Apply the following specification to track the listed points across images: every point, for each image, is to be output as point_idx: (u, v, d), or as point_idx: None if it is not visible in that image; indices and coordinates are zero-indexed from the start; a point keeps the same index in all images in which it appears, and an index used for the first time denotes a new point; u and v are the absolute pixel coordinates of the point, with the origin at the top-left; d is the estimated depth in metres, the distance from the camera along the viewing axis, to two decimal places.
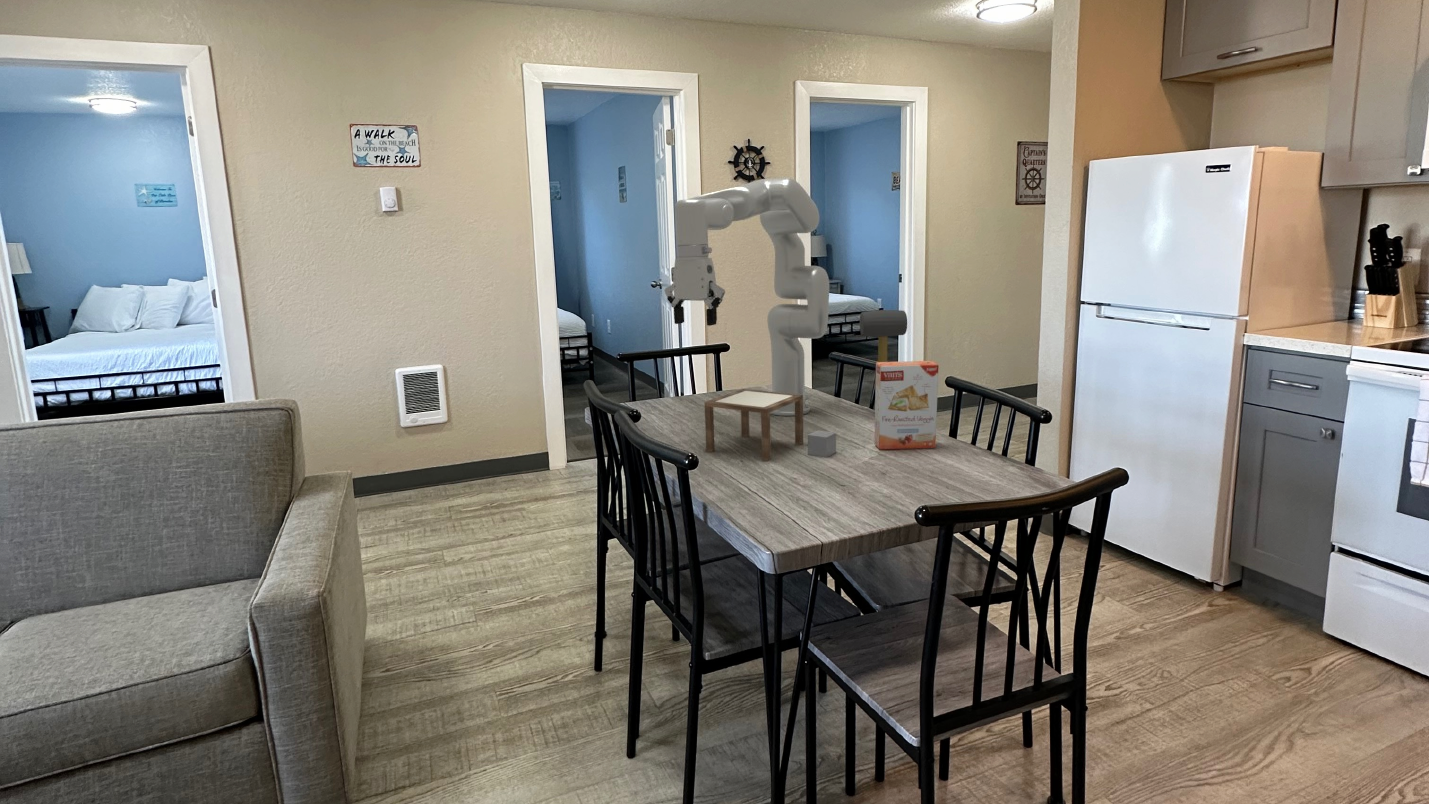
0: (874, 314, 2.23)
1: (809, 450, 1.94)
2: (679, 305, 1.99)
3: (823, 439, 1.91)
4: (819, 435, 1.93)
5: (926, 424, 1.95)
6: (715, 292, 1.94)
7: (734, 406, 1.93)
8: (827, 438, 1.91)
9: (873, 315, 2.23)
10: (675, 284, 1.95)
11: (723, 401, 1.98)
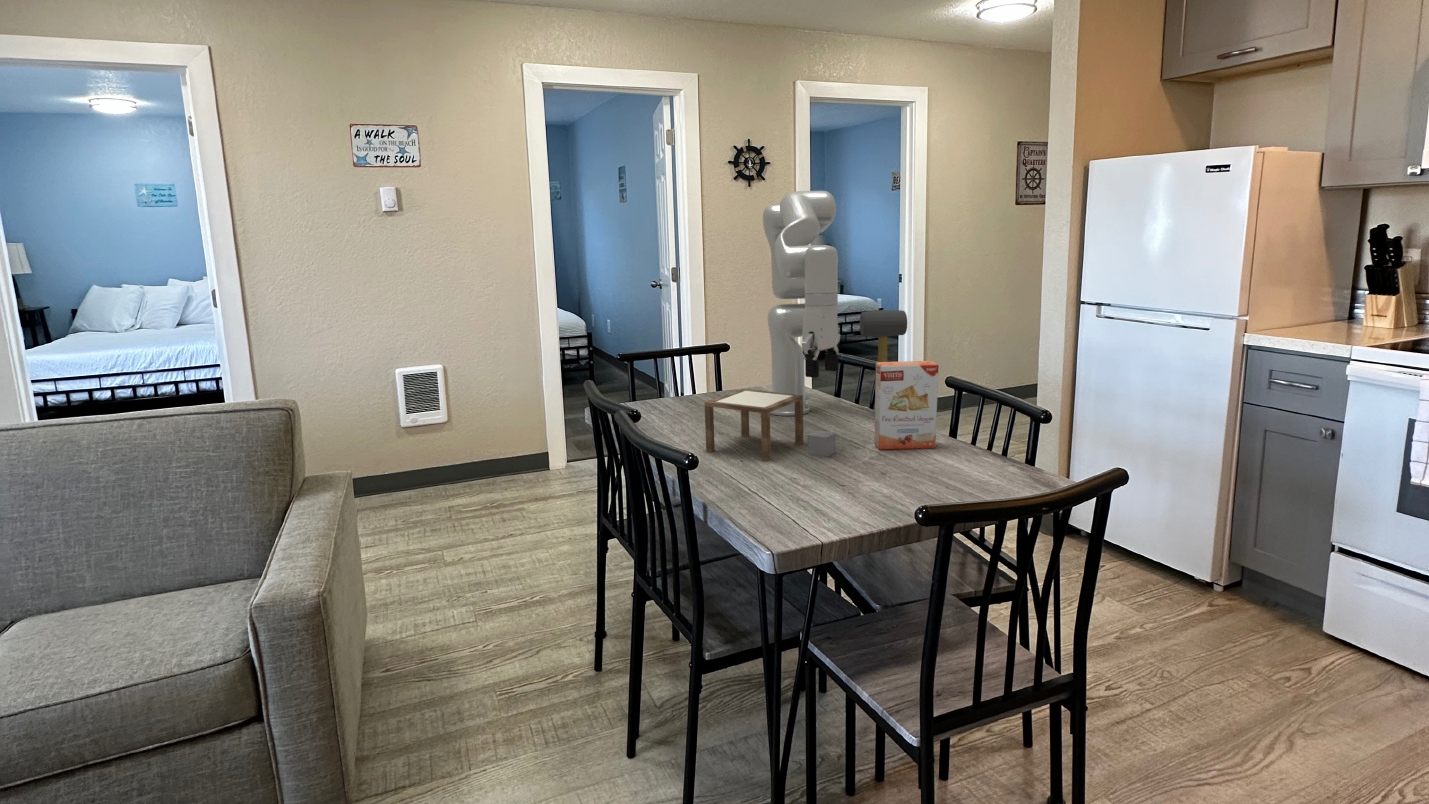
0: (874, 314, 2.23)
1: (809, 450, 1.94)
2: None
3: (823, 439, 1.91)
4: (819, 435, 1.93)
5: (926, 424, 1.95)
6: None
7: (734, 406, 1.93)
8: (826, 438, 1.91)
9: (873, 315, 2.23)
10: (822, 335, 1.84)
11: (723, 401, 1.98)
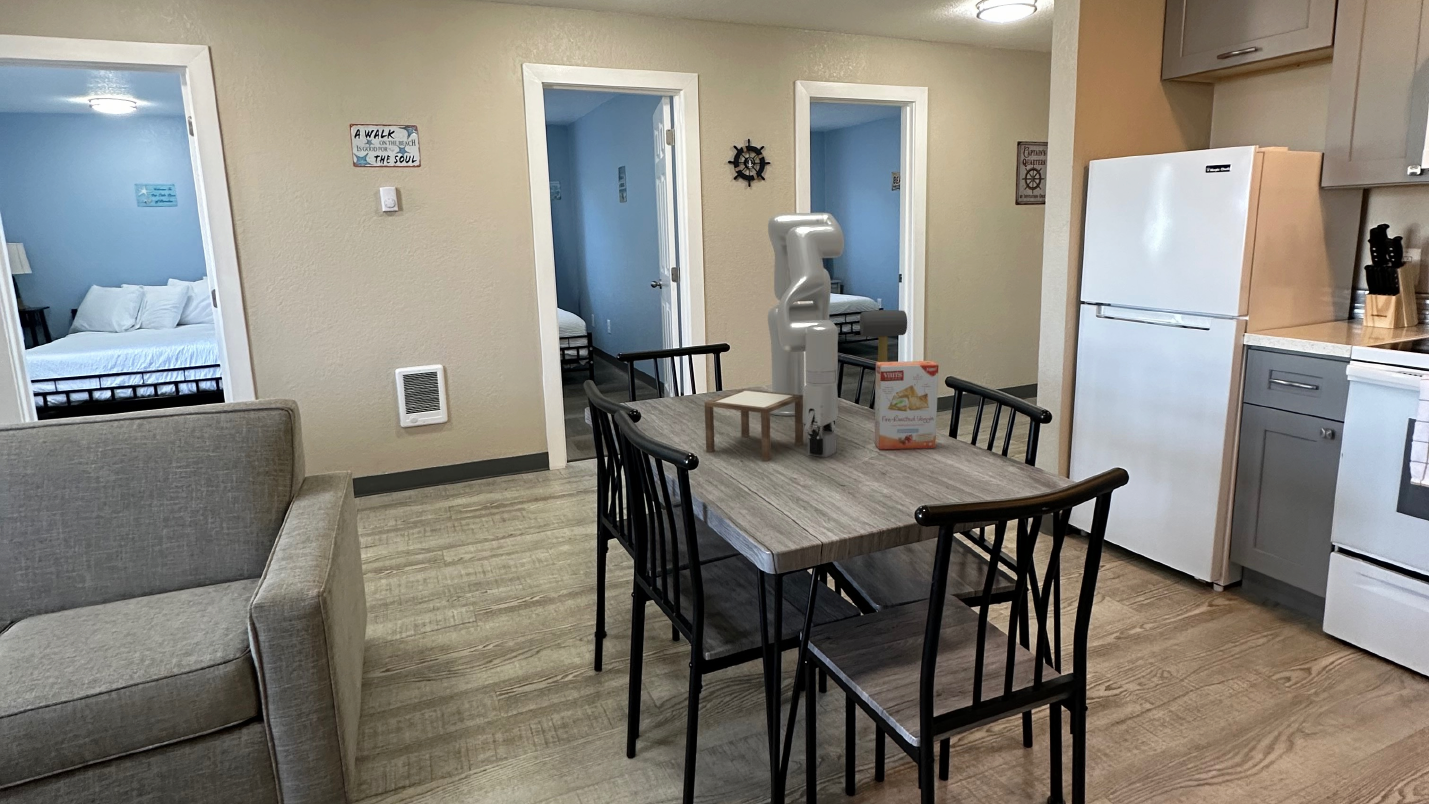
0: (874, 314, 2.23)
1: (809, 450, 1.94)
2: None
3: (823, 439, 1.91)
4: None
5: (926, 424, 1.95)
6: None
7: (734, 406, 1.93)
8: (826, 437, 1.91)
9: (873, 315, 2.23)
10: (822, 412, 1.89)
11: (723, 401, 1.98)
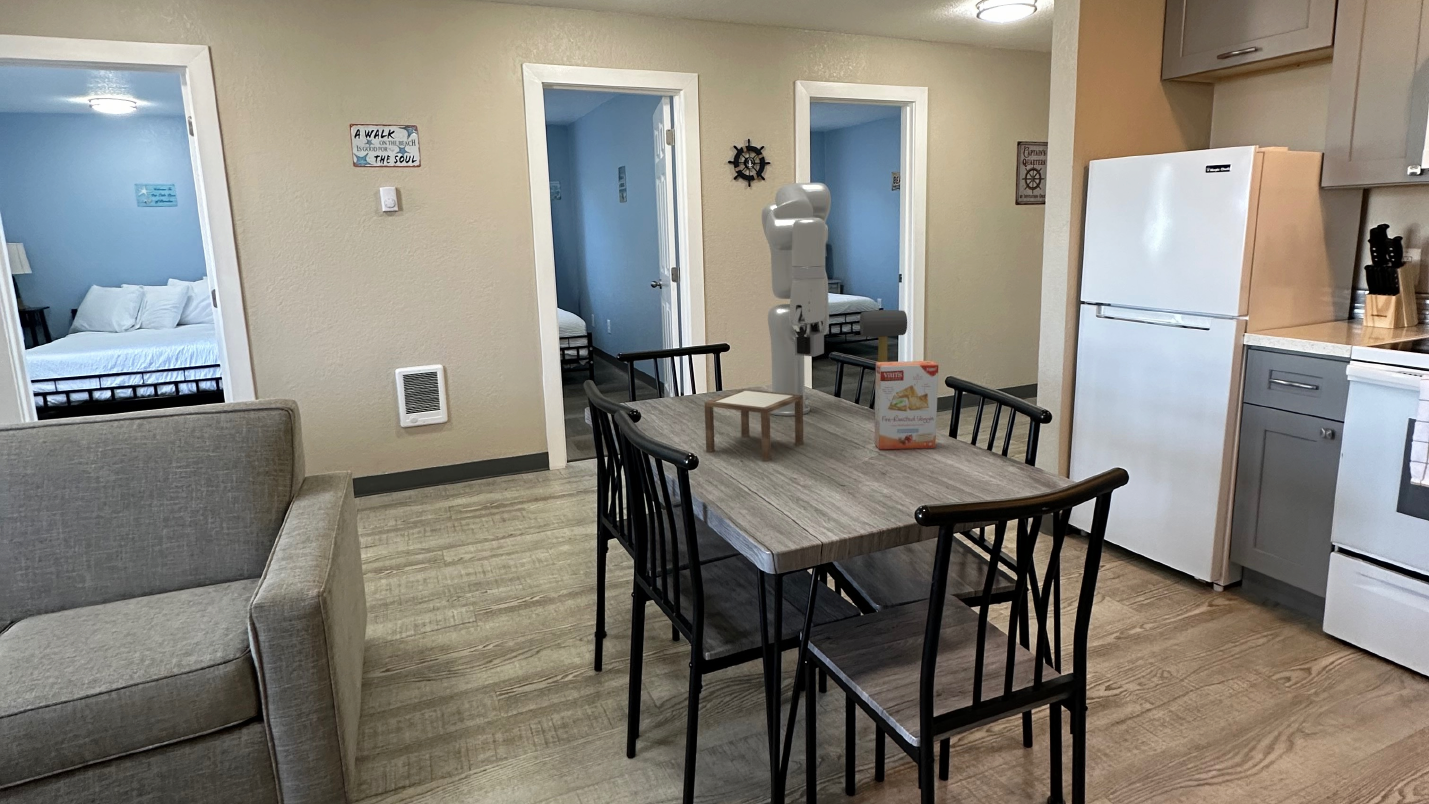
0: (874, 314, 2.23)
1: (796, 350, 1.90)
2: None
3: (810, 337, 1.87)
4: None
5: (926, 424, 1.95)
6: None
7: (734, 406, 1.93)
8: (814, 336, 1.87)
9: (873, 315, 2.23)
10: (809, 308, 1.84)
11: (723, 401, 1.98)
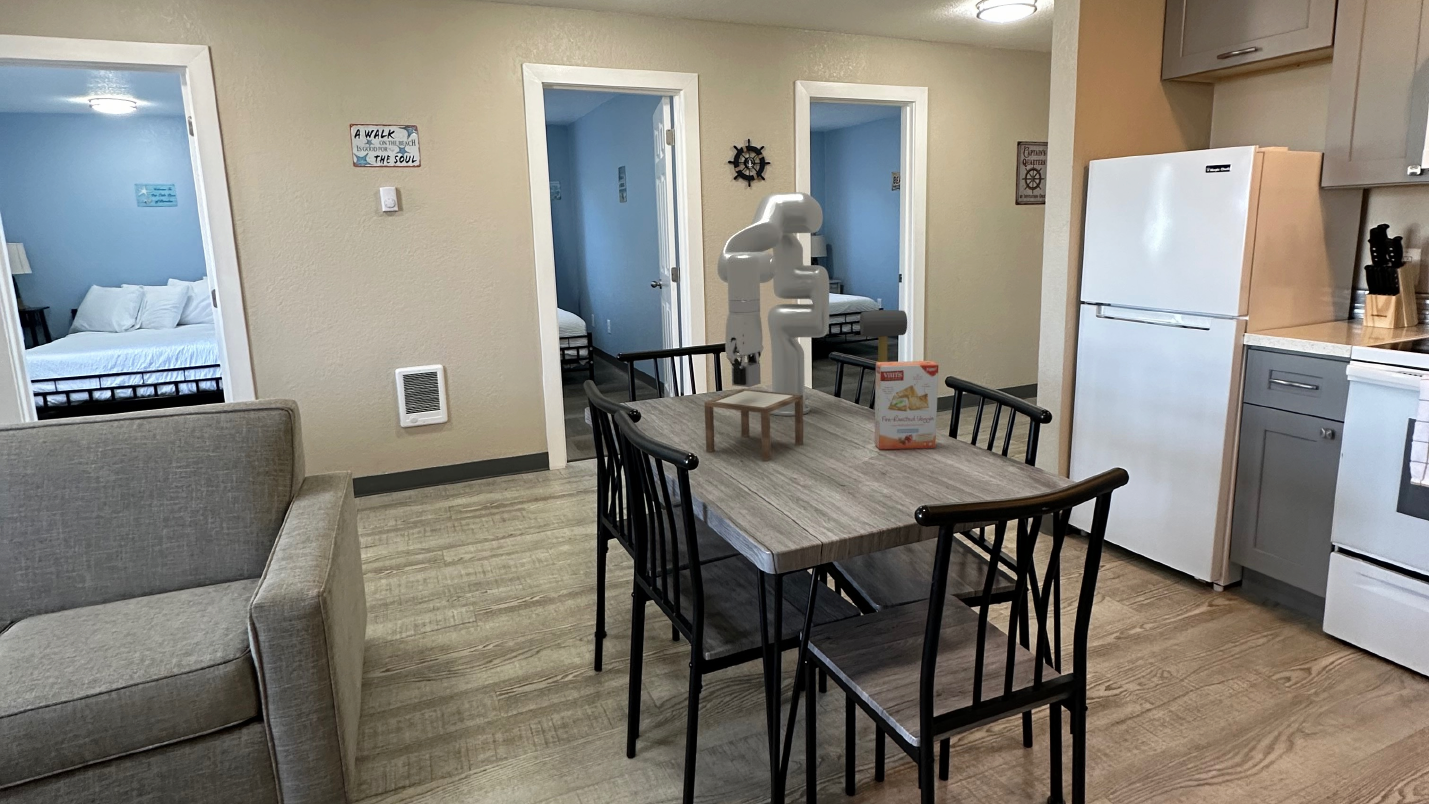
0: (874, 314, 2.23)
1: None
2: None
3: (746, 368, 1.92)
4: None
5: (926, 424, 1.95)
6: None
7: (734, 406, 1.93)
8: (749, 367, 1.92)
9: (873, 315, 2.23)
10: (743, 340, 1.89)
11: (723, 401, 1.98)
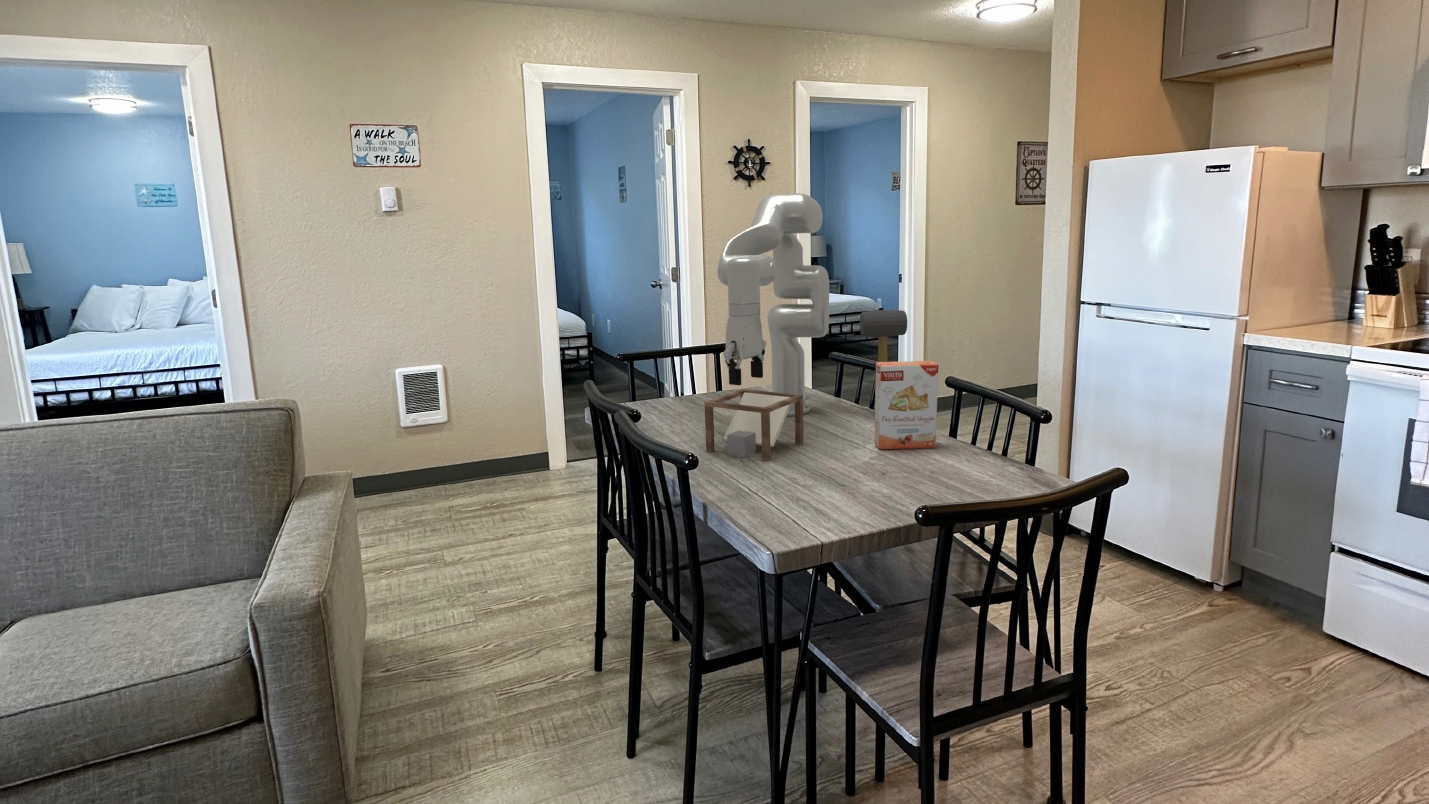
0: (874, 314, 2.23)
1: None
2: None
3: None
4: (736, 453, 1.95)
5: (926, 424, 1.95)
6: None
7: (734, 406, 1.93)
8: (745, 456, 1.94)
9: (873, 315, 2.23)
10: (744, 344, 1.90)
11: None
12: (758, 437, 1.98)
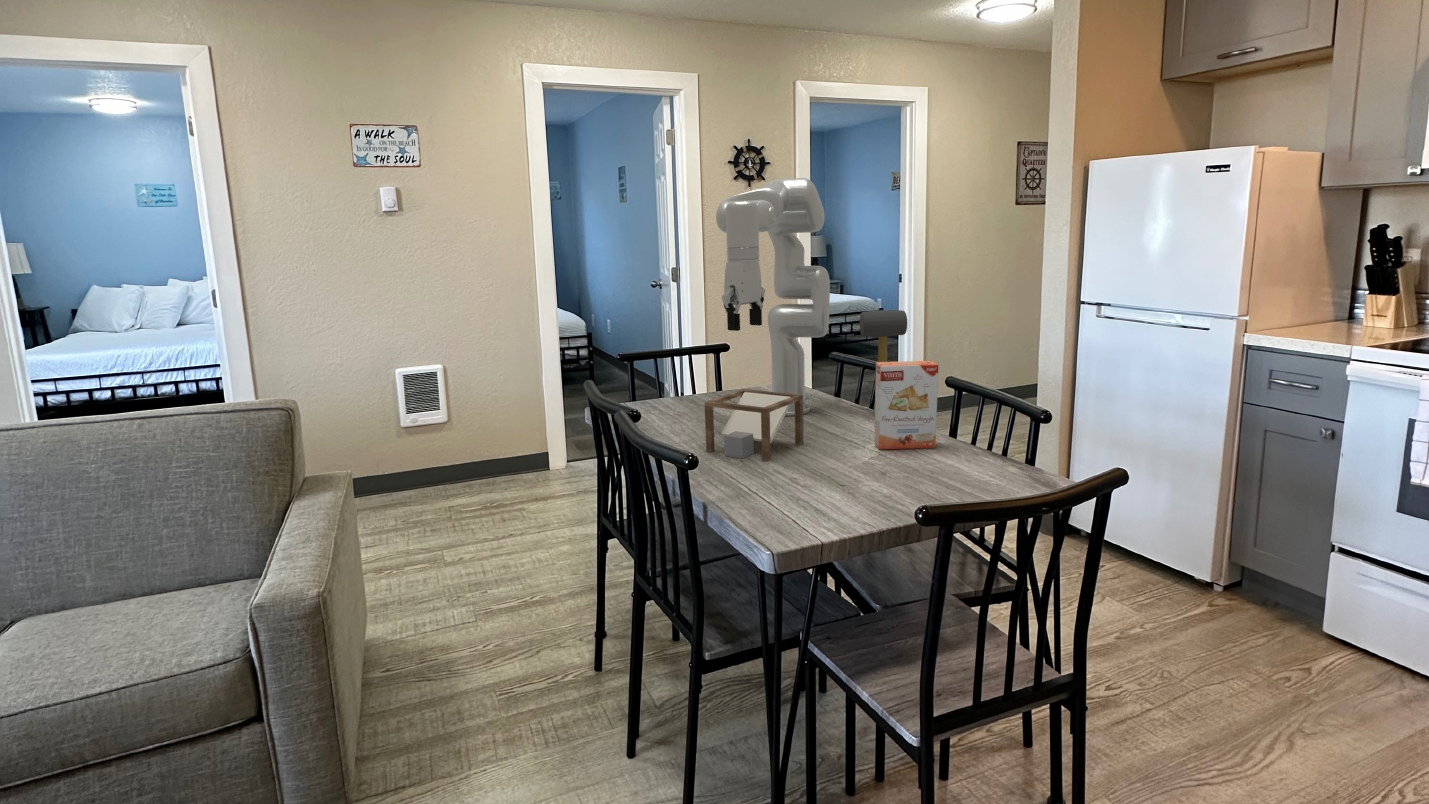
0: (874, 314, 2.23)
1: None
2: None
3: None
4: (734, 453, 1.94)
5: (926, 424, 1.95)
6: None
7: (734, 406, 1.93)
8: (743, 457, 1.93)
9: (873, 315, 2.23)
10: (742, 288, 1.88)
11: (729, 431, 2.01)
12: (756, 433, 1.97)
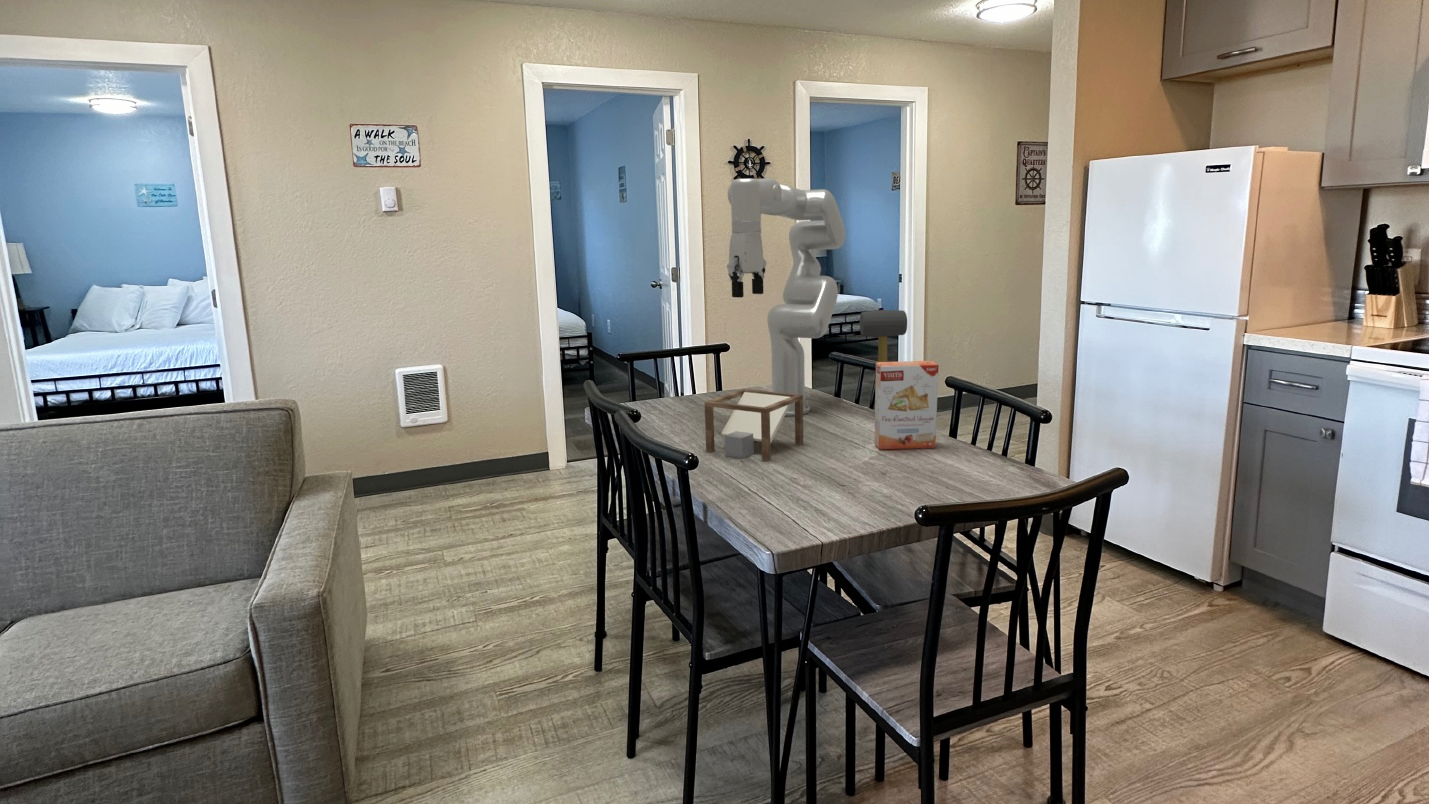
0: (874, 314, 2.23)
1: None
2: None
3: None
4: (734, 453, 1.94)
5: (926, 424, 1.95)
6: None
7: (734, 406, 1.93)
8: (743, 457, 1.93)
9: (872, 315, 2.23)
10: (746, 258, 2.05)
11: (729, 431, 2.01)
12: (756, 433, 1.97)
